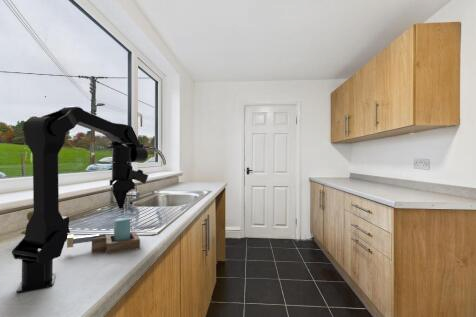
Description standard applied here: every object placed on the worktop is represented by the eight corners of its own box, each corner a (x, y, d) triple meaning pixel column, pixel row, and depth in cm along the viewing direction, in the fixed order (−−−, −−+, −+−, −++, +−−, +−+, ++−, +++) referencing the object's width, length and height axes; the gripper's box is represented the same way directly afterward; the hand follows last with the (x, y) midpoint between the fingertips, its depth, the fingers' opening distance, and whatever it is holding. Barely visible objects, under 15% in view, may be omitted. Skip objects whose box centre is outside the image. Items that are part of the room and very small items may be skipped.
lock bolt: (99, 243, 80) (99, 233, 80) (67, 247, 75) (67, 237, 75) (98, 240, 82) (98, 231, 82) (67, 244, 78) (67, 235, 78)
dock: (139, 248, 83) (139, 235, 83) (91, 256, 76) (91, 241, 76) (135, 239, 91) (135, 227, 91) (91, 246, 84) (91, 233, 84)
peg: (131, 247, 84) (131, 220, 84) (114, 250, 81) (114, 222, 81) (129, 242, 88) (129, 217, 88) (113, 245, 85) (113, 219, 85)
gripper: (151, 163, 80) (151, 211, 80) (141, 162, 96) (141, 202, 96) (113, 162, 75) (112, 214, 75) (109, 162, 91) (109, 204, 91)
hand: (120, 208), depth 84 cm, fingers closed
